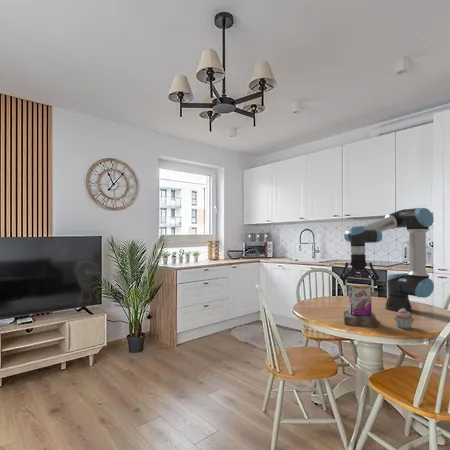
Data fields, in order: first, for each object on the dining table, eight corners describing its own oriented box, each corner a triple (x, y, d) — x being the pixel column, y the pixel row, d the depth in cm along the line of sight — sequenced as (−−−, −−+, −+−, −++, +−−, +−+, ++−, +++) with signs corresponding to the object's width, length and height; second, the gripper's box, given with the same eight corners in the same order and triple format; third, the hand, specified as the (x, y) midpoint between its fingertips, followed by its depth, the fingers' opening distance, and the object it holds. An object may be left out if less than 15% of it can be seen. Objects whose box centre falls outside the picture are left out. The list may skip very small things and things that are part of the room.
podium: (373, 319, 177) (373, 312, 178) (377, 327, 162) (377, 319, 162) (343, 317, 183) (343, 310, 183) (344, 324, 168) (344, 316, 168)
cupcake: (416, 327, 162) (416, 307, 162) (411, 331, 155) (410, 311, 156) (397, 323, 168) (396, 305, 169) (391, 327, 162) (390, 308, 162)
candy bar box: (351, 315, 171) (350, 285, 171) (348, 313, 176) (347, 284, 176) (372, 316, 169) (371, 285, 170) (369, 313, 174) (368, 284, 175)
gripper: (334, 254, 175) (335, 292, 174) (383, 254, 166) (385, 294, 166) (334, 253, 182) (335, 289, 181) (381, 253, 173) (383, 291, 173)
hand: (359, 291), depth 173 cm, fingers open, 13 cm apart
